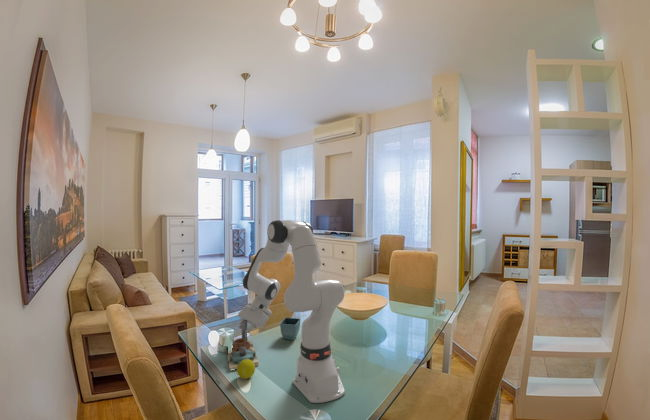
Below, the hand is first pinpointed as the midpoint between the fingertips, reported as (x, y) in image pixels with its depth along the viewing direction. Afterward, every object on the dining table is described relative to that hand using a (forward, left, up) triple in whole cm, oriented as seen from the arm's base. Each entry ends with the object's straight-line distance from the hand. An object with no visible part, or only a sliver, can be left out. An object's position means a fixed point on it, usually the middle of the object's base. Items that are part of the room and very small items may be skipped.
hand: (243, 330), depth 151 cm
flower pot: (-6, -24, -6) cm, 25 cm away
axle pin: (0, -1, -6) cm, 6 cm away
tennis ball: (-34, +2, -6) cm, 34 cm away
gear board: (-16, +2, -6) cm, 17 cm away
